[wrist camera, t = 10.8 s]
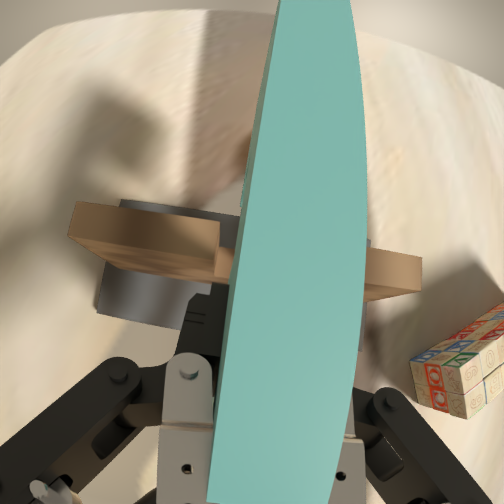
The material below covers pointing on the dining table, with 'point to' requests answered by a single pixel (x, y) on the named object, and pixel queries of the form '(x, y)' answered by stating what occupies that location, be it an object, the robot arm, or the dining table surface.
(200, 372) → the robot arm
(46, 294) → the dining table surface
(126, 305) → the halving stand
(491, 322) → the stack of blocks
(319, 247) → the teal plate
